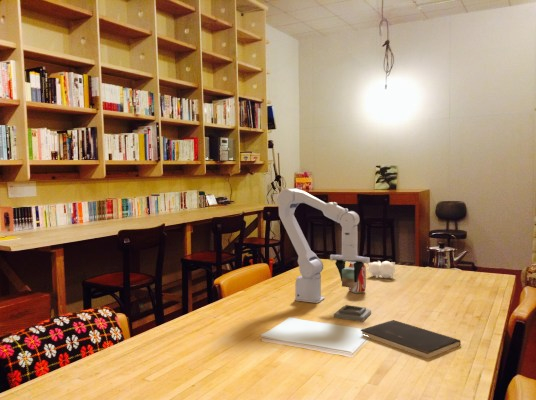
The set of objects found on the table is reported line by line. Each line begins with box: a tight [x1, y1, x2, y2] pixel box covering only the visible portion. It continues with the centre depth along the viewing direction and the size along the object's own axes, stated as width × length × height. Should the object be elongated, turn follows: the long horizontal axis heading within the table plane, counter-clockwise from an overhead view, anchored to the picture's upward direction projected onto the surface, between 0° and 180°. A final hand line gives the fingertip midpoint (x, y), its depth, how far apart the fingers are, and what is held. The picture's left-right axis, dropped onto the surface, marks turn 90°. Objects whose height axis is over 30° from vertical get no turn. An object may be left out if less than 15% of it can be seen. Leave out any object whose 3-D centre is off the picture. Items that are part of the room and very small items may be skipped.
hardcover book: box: [360, 319, 461, 359], centre depth 139 cm, size 16×23×2 cm
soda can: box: [348, 262, 367, 294], centre depth 195 cm, size 7×7×12 cm
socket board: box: [333, 304, 372, 322], centre depth 163 cm, size 10×10×2 cm
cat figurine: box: [366, 260, 396, 279], centre depth 222 cm, size 9×11×12 cm
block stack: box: [341, 266, 357, 288], centre depth 175 cm, size 4×4×6 cm
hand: (349, 281), depth 175 cm, fingers closed on block stack, 4 cm apart
